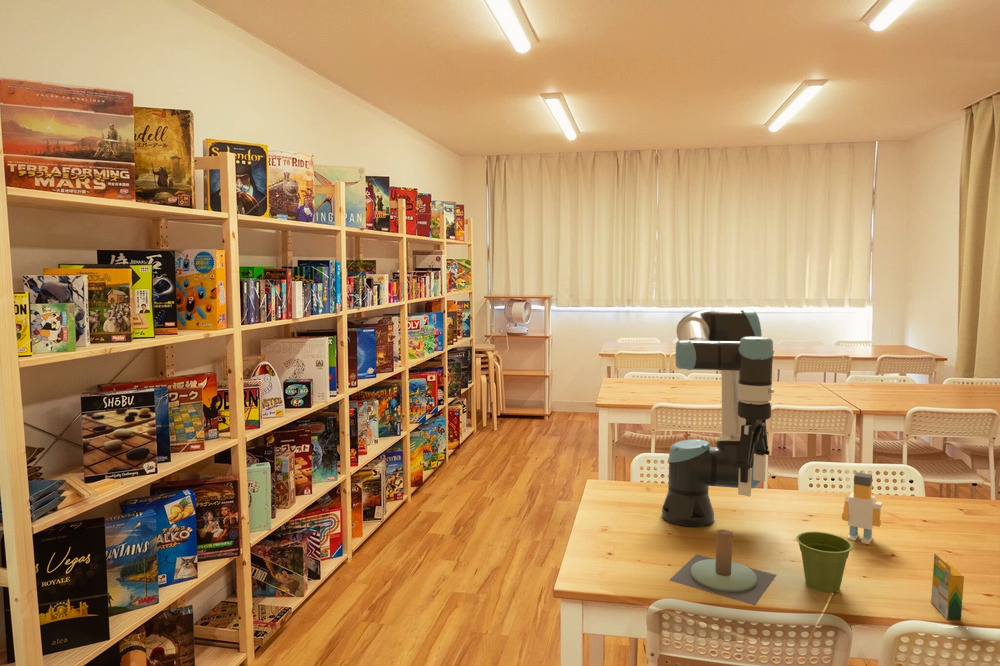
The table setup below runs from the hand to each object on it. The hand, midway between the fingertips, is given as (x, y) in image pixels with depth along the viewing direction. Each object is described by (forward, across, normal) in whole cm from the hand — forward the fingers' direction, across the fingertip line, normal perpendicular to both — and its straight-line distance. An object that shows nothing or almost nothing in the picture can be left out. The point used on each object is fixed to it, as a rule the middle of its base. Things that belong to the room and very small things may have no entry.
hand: (752, 487), depth 160 cm
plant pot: (+22, +3, -16) cm, 27 cm away
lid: (+21, -6, +4) cm, 23 cm away
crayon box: (+22, +6, -40) cm, 46 cm away
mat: (+22, -6, +4) cm, 23 cm away
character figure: (+22, +40, -19) cm, 49 cm away
